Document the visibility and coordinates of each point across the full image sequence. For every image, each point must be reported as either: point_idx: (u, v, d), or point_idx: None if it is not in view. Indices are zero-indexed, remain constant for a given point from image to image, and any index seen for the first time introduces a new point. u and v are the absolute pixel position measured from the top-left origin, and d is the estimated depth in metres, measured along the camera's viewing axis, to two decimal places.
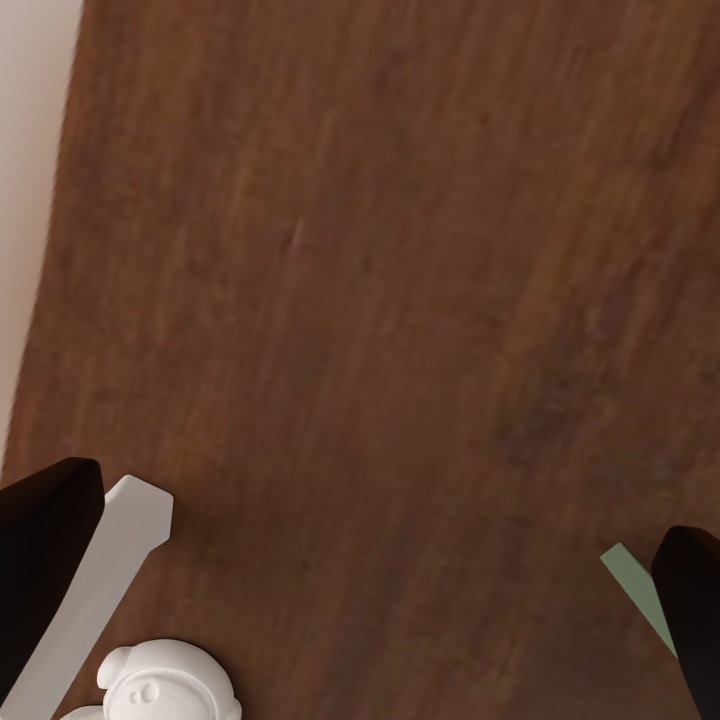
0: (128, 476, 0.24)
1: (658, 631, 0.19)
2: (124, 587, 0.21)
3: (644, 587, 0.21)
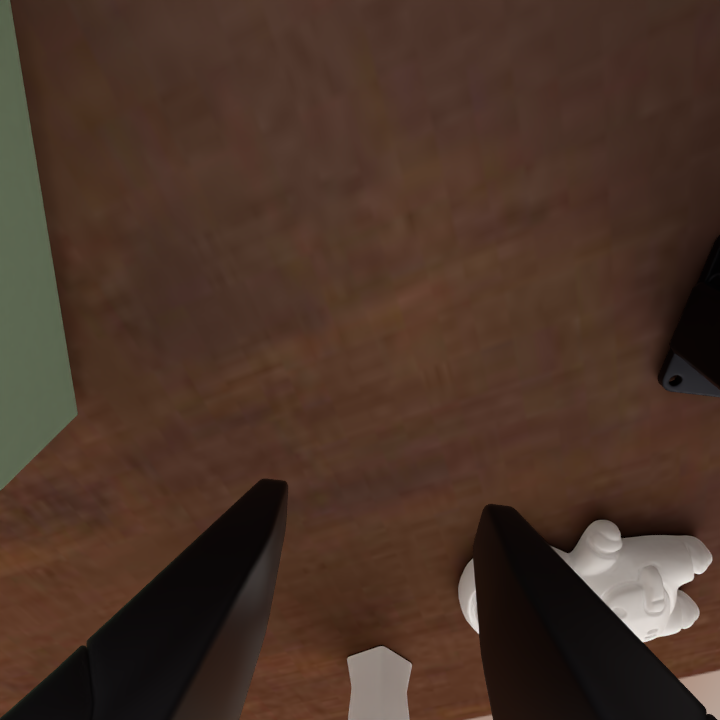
0: None
1: None
2: None
3: None
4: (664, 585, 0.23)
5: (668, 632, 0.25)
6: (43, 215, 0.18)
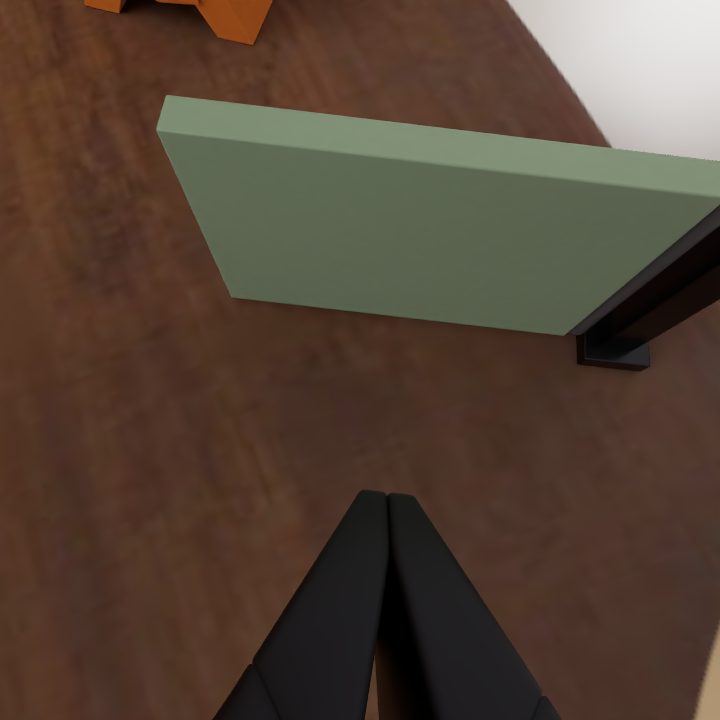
0: None
1: (204, 235, 0.18)
2: None
3: None
4: None
5: None
6: (421, 318, 0.22)
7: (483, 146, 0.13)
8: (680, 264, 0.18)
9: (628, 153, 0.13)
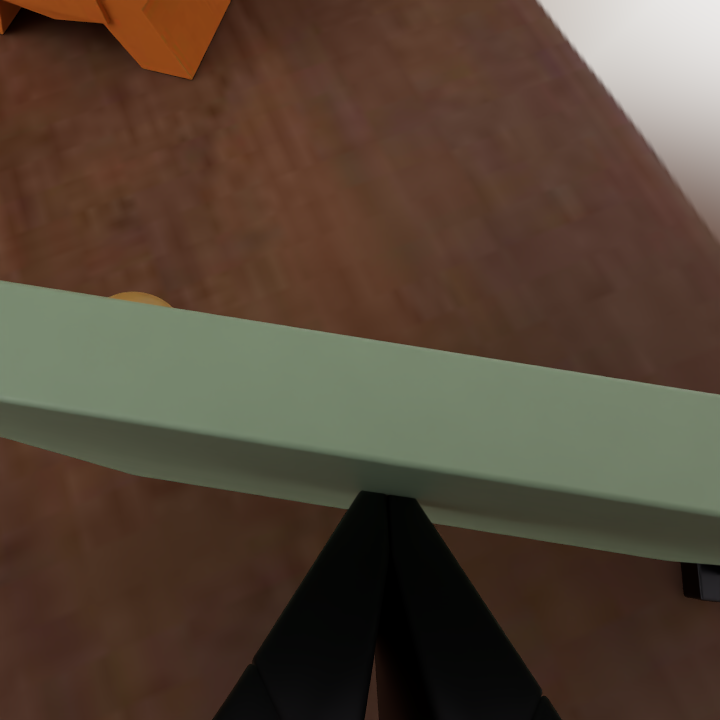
0: None
1: None
2: None
3: None
4: None
5: None
6: (436, 523, 0.14)
7: (640, 427, 0.05)
8: None
9: None
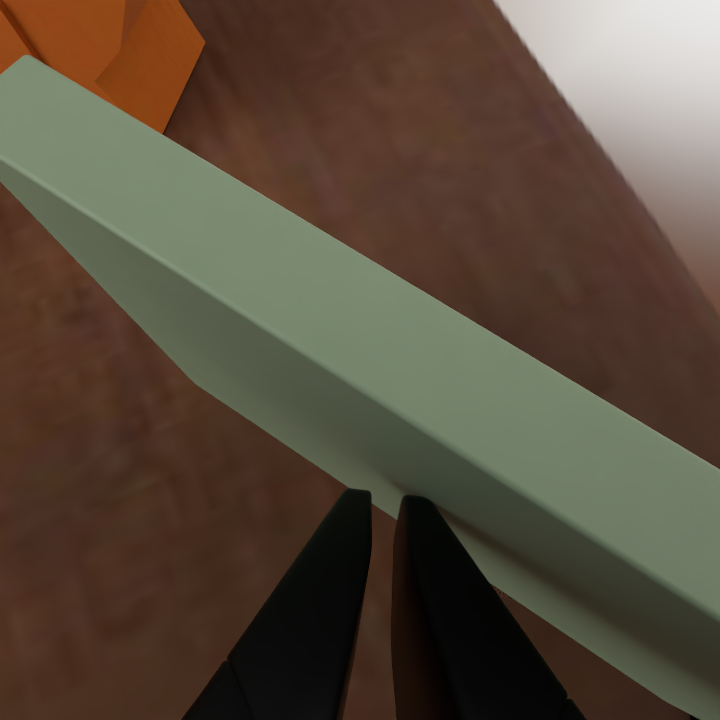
0: None
1: None
2: None
3: None
4: None
5: None
6: None
7: None
8: None
9: None
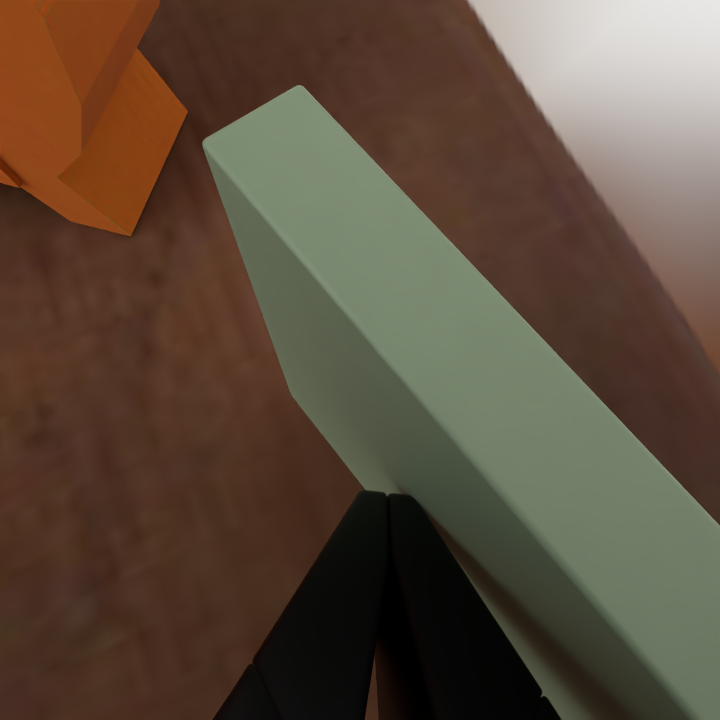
0: None
1: None
2: None
3: None
4: None
5: None
6: None
7: None
8: None
9: None
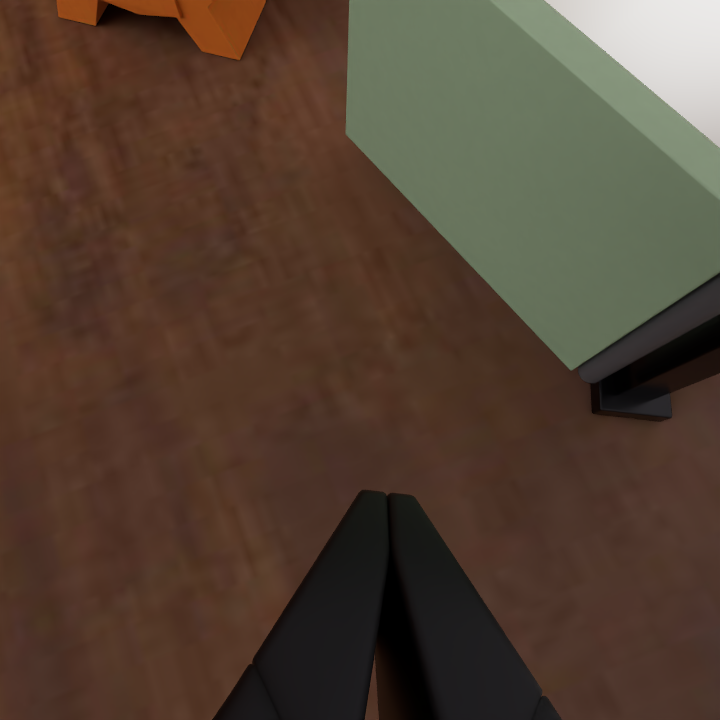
0: None
1: (349, 38, 0.19)
2: None
3: None
4: None
5: None
6: (466, 259, 0.22)
7: (581, 48, 0.13)
8: (713, 319, 0.16)
9: (708, 141, 0.12)
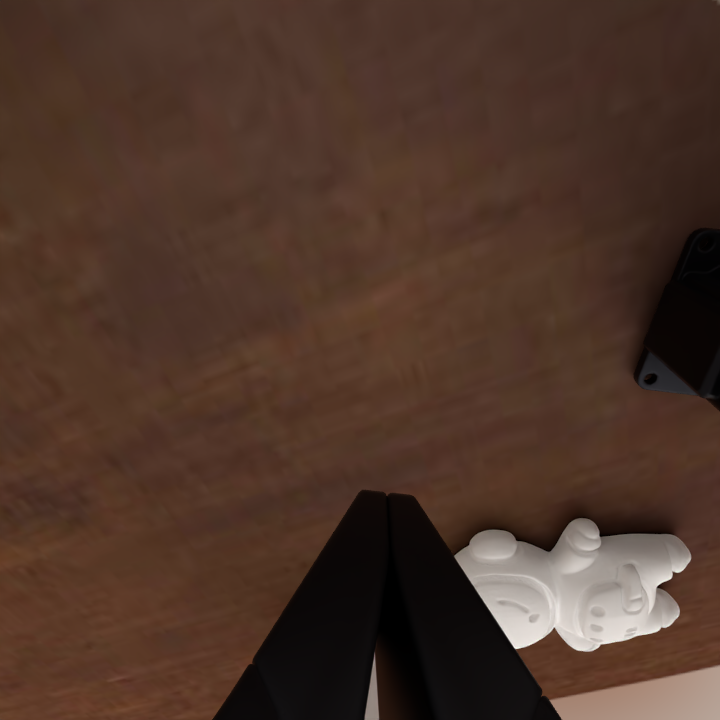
0: None
1: None
2: None
3: None
4: (643, 583, 0.23)
5: (648, 631, 0.25)
6: None
7: None
8: None
9: None
